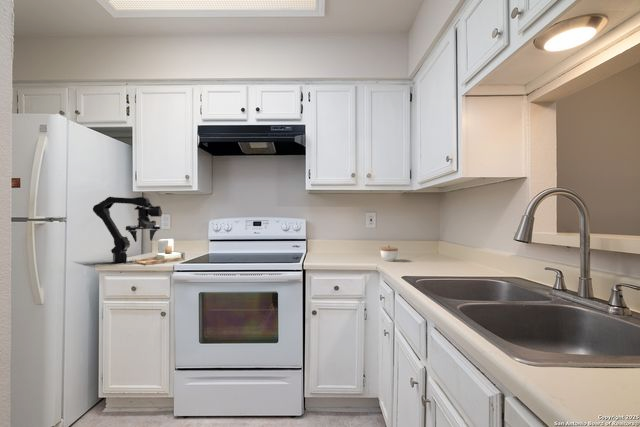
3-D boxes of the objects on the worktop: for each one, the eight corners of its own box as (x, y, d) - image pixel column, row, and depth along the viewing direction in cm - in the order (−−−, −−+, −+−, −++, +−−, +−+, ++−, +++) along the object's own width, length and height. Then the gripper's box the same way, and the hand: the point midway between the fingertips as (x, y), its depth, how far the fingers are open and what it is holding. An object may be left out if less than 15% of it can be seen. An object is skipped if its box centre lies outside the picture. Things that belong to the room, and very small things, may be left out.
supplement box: (168, 258, 210) (168, 239, 210) (157, 258, 210) (157, 239, 210) (173, 256, 217) (173, 238, 217) (163, 256, 217) (163, 238, 217)
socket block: (164, 260, 190) (164, 255, 190) (155, 259, 197) (155, 254, 197) (181, 258, 199) (181, 253, 199) (172, 257, 206) (172, 252, 206)
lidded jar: (400, 261, 188) (400, 246, 189) (384, 262, 186) (384, 246, 186) (393, 259, 199) (393, 244, 199) (377, 259, 197) (377, 245, 197)
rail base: (146, 265, 180) (146, 256, 180) (135, 263, 188) (135, 255, 188) (184, 260, 199) (184, 252, 200) (173, 258, 208) (173, 251, 208)
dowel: (167, 258, 195) (167, 246, 195) (163, 258, 197) (163, 246, 197) (173, 258, 198) (173, 245, 198) (170, 257, 201) (169, 245, 201)
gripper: (133, 216, 183) (133, 243, 183) (164, 216, 198) (164, 240, 198) (125, 216, 189) (125, 242, 189) (155, 216, 204) (156, 239, 204)
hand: (143, 241), depth 195 cm, fingers open, 9 cm apart
